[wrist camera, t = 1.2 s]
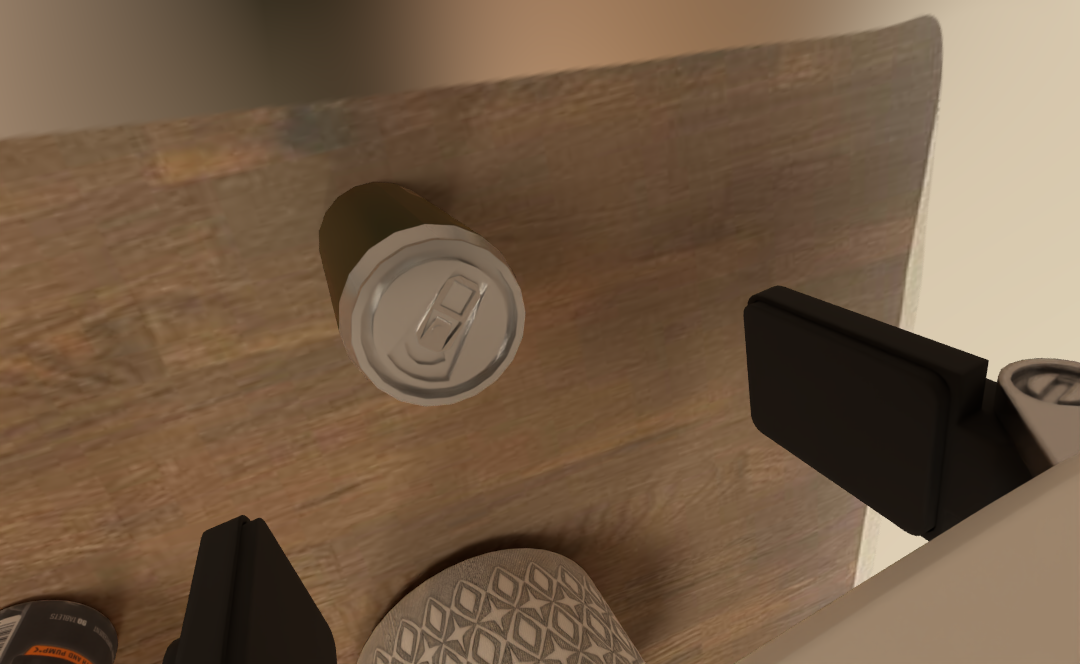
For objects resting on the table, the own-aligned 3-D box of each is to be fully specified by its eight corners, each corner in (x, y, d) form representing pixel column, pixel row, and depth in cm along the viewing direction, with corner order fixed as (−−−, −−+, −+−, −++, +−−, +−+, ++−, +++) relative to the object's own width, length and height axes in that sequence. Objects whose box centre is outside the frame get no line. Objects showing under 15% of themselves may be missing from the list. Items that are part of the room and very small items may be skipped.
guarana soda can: (353, 155, 24) (405, 191, 14) (458, 218, 27) (565, 286, 17) (295, 263, 25) (302, 373, 15) (403, 314, 28) (474, 437, 17)
